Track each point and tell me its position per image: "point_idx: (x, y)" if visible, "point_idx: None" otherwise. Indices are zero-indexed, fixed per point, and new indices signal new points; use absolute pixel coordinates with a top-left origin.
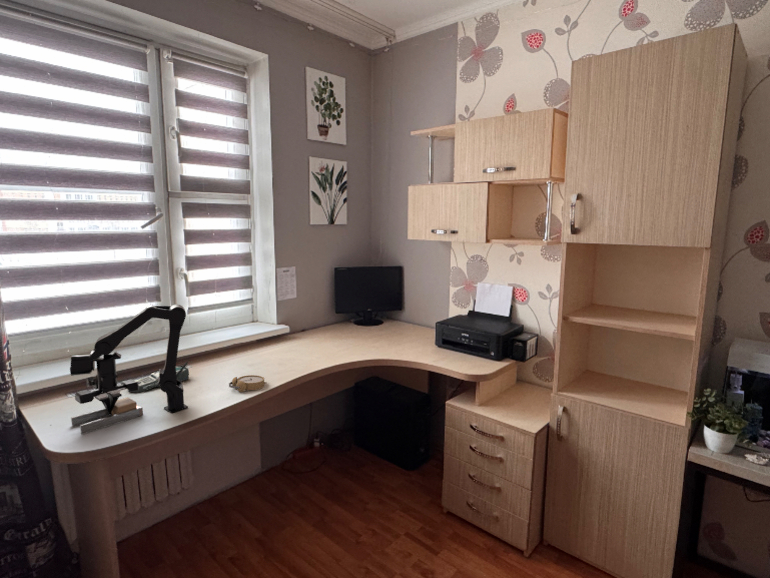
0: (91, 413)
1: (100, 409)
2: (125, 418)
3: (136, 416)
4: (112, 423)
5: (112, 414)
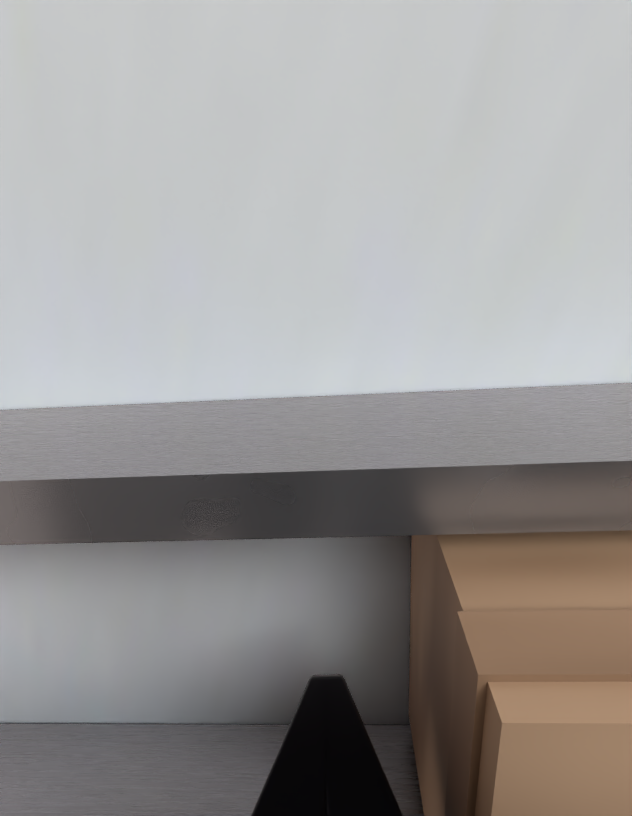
0: (17, 533)
1: (214, 500)
2: None
3: None
4: None
5: None
